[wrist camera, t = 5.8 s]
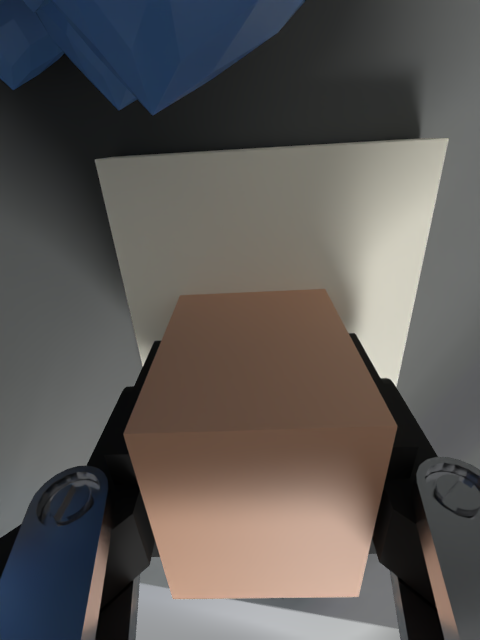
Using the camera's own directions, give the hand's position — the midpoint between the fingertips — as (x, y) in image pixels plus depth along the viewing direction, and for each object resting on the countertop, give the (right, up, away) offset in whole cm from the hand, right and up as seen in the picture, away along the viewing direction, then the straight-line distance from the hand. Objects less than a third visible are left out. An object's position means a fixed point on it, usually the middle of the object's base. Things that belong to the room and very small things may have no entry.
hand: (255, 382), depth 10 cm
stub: (+1, +1, +2) cm, 2 cm away
